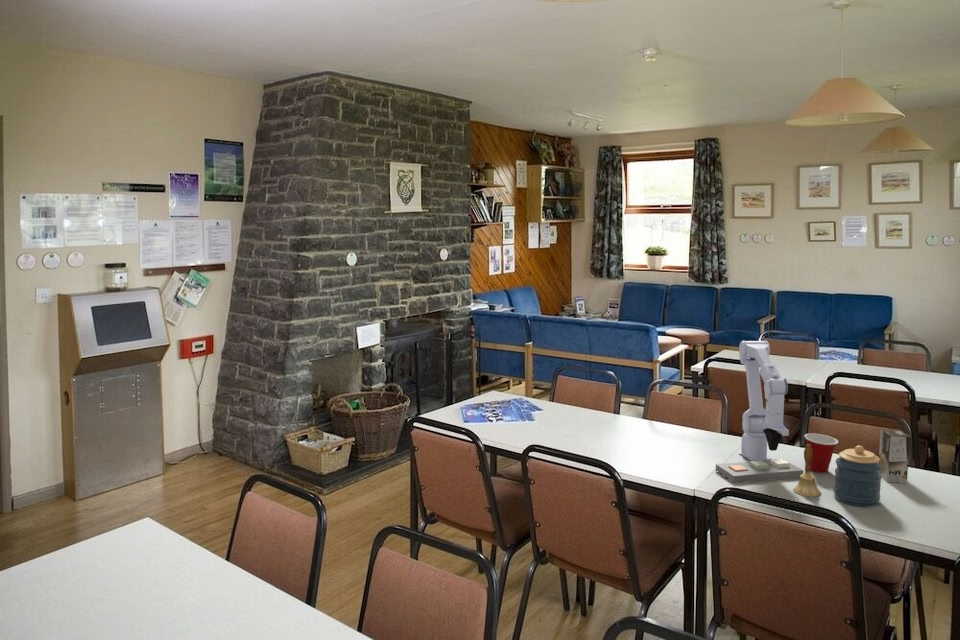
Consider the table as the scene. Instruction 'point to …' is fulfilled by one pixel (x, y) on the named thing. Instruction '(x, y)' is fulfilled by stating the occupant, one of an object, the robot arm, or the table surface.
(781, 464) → the cream key
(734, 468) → the terracotta key
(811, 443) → the plastic cup
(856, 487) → the canister
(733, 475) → the keypad
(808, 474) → the hand bell
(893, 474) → the coffee box
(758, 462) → the sage key
